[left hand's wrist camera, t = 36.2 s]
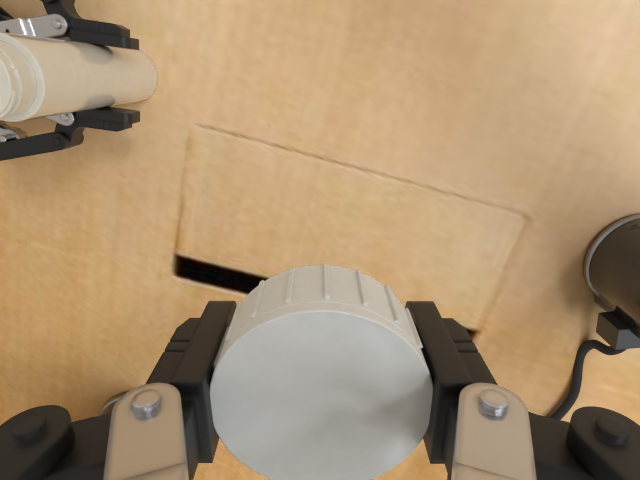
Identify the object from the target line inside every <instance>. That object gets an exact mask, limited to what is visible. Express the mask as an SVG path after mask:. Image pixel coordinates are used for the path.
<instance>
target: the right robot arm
mask: <svg viewBox="0 0 640 480" xmlns="http://www.w3.org/2000/svg"><path fill="white" fill-rule="evenodd" d="M41 1H43V4H44V6H45V9H46V11H47V14H48V15H45V16H39V17H34V18H19V19H14V18H13V17H12V16H11V15H9V14H8V13H7V12H6V11H5V10H4V9H2V8H1V7H0V32H6V33H14V34H22V35H30V36H38V37H46V38H54V39H62V40H69V39H70V40H71V41H78V42H85V43H91V44H98V45H104V46H111V47H118V48H125V49H133V50H139V40H138V39H133V38H130V30H129V29H127V28H125V27H123V26H121V25H116V24H111V23H104V22H98V21H91V20H85V19H82V18H81V17H80V16H79V15H78V14H77V12H76V10H75V7H74V3H75V0H41ZM45 118H47V119H50V120H52V121H54V122H57V125H56V128H55V132H52V133H46V134H41V135H35V136H29V137H27V133H26V132H24V131H23V130H21V129H20V128H12V127H10V126H8V125H7V124H6V123H5V122H4V121H2V120H0V161H2V160H7V159H13V158H19V157H24V156H30V155H36V154H41V153H47V152H53V151H58V150H63V149H66V148H69V147H73V146H76V145H79V144H81V143H82V142H83V140H84V137H83V134H82V133H83V130H84V128H85V127H88V128H95V129H103V130H110V131H121V130H124V129H128V128H131V127H132V124H133V123H136V122H140V111H135V110H128V109H121V108H114V107H103V108H97V109H91V110H85V111H79V112H73V113H67V114H61V115H55V116H49V117H45ZM124 394H126V393H123V394H120V395H117V396H115V397H113V398H112V399H110V400H109V401H108V402H107V403H106V404H105V406H104V407H103V409H102V410H101V412H100V413H99V416H101V415H105V414H108V413H111V412H112V410H113V407H114V405H115V404H116V402H117V401H118V400H119V399H120V398H121V397H122V396H123V395H124Z"/></svg>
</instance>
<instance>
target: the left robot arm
mask: <svg viewBox="0 0 640 480" xmlns="http://www.w3.org/2000/svg"><path fill="white" fill-rule="evenodd" d="M583 273H584V278H585V281H586V283H587V285H588V286H589V288H590V289H591V290H592V291H593V292H594V293H595V302H596V303H597V304H598V305H599V306H601V307H602V308H603V309H604V310H605V311H607V312H602V313H599V314H598V321H597V328H596V332H597V333H598V334H599V335H600V336H601V337H602V338H603V339H604V340H605V341H606V342H607V343H608V344H609V345H611V346H607V345H605V344H603V343H601V342H599V341H597V340H589V341H587V342H585V343H583V344H582V345H581V347H580V348H579V350H578V352H577V356H576V360H575V364H574V369H573V380H572V386H571V389H570V392H569V394H568V396H567V398H566V399H565V401H564V402H563V403H562V405H561V406H560V407H559V408H558V409H557V410H556V412H555V413H554V414H553V415H552V416H551V417H549V418H548V417H543V416H540V415H536V414H533V413H531V412H528V410H527V407H526V405H525V404H524V402H523V401H522V400H521V399H520V398H519V397H518V396H517V395H516V394H514V393H513V392H511V391H510V390H508V389H506V388H504V387H501V386H498V385H497V383H496V381H495V380H494V378H493V376H492V374H491V373H490V371H489V369H488V367H487V366H486V364H485V362H484V360H483V358H482V357H481V355H480V353H478V350H477V348H476V346H475V344H474V343H472V339H471V337H470V336H469V334H468V332H467V330H466V329H465V328H464V327H463V326H461V325H460V324H459V323H458V322H456V321H455V320H454V319H452V318H441V316H440V314H439V312H438V310H437V308H436V306H435V304H434V302H433V301H407V303H406V306H405V308H408V309H409V312H410V314H411V317H412V319H413V322H414V325H415V327H416V330H417V333H418V335H419V338H420V341H421V343H422V346H423V348H421V351H422V353H423V356H424V359H425V362H426V364H427V367H428V370H429V372H430V376H431V379H432V382H433V395H432V403H431V412H430V420H429V427H428V429H427V432H426V433H425V435H424V437H423V439H424V443H425V446H426V450H427V453H428V457H429V460H430V464H445V466H446V469H447V472H448V476H447V480H640V426H639V425H638V424H637V423H635V422H634V421H632V420H631V419H629V418H627V417H625V416H624V415H622V414H619V413H617V412H615V411H612V410H609V409H605V408H601V407H582V408H579V409H577V410H576V411H575V412H574V413H573V414H572V417H571V421H570V423H569V422H565V421H561V419H562V418H563V417H564V416H565V414H566V413H567V412H568V411H569V410H570V408H571V407H572V406H573V404H574V403H575V401H576V399H577V397H578V394H579V392H580V387H581V381H582V369H583V362H584V358H585V356H586V354H587V352H589V351H590V350H591V349H593V348H595V349H597V350H598V351H600V352H602V353H604V354H606V355H615V354H619V353H622V352H623V351H625V350H626V349H630V348H640V214H635V215H631V216H628V217H625V218H622V219H620V220H618V221H616V222H614V223H613V224H611V225H610V226H608V227H607V228H605V229H604V230H603V231H602V232H601V233H600V234H599V235H598V236H597V237H596V238H595V240H594V241H593V242H592V244H591V245H590V247H589V249H588V251H587V253H586V256H585V259H584V265H583ZM236 307H237V305H236V302H235V301H209V302H208V304H207V306H206V308H205V310H204V312H203V314H202V316H201V318H189V319H188V320H187V321H185V322H184V323H183V324H182V325H180V326H179V327H178V328H177V329H176V331H175V333H174V334H173V336H172V338H171V340H170V342H169V343H168V345H167V347H166V349H165V352H163V354H162V356H161V357H160V359H159V361H158V363H157V365H156V366H155V368H154V370H153V372H152V373H151V375H150V377H149V379H148V381H147V382H146V384H145V385H142V386H139V387H136V388H134V389H132V390H130V391H129V392H127V393H126V394H124V395H123V396H122V397H121V398H120V399H119V400H118V401H117V402H116V404H115V405H114V407H113V410H112V412H111V413H108V414H105V415H101V416H97V417H92V418H88V419H84V420H79V421H75V422H72V421H71V418H70V414H69V412H68V411H67V410H66V409H65V408H63V407H60V406H55V405H46V406H40V407H35V408H32V409H29V410H26V411H24V412H21V413H19V414H17V415H15V416H14V417H12V418H10V419H9V420H7V421H6V422H5V423H3V424H2V425H1V426H0V480H193V478H194V475H195V471H196V468H197V465H198V463H212V462H213V459H214V455H215V451H216V448H217V444H218V441H219V436H218V434H217V432H216V430H215V428H214V424H213V416H212V408H211V400H210V382H211V379H212V376H213V372H214V370H215V369H214V362H215V359H216V357H217V354H218V351H219V348H220V346H221V343H222V340H223V337H224V335H225V332H226V329H227V326H229V327H230V324H231V321H232V318H233V315H234V313H235V310H236Z"/></svg>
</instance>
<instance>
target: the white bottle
mask: <svg viewBox="0 0 640 480" xmlns="http://www.w3.org/2000/svg"><path fill="white" fill-rule="evenodd" d="M157 82H158V76H157V71H156V68H155V66H154V64H153V62H152V61H151V60H150V58H149V57H148V56H147V55H145V54H144V53H143V52H141V51H139V50H133V49H125V48H118V47H111V46H104V45H98V44H91V43H85V42H78V41H70V40H62V39H54V38H46V37H38V36H30V35H22V34H14V33H6V32H0V120H2V121H7V122H18V121H25V120H31V119H37V118H43V117H49V116H55V115H61V114H67V113H73V112H79V111H85V110H91V109H97V108H103V107H109V106H115V105H121V104H128V103H134V102H140V101H144V100H146V99H148V98H149V97H150V96H151V95H152V94H153V93H154V91H155V90H156V87H157Z"/></svg>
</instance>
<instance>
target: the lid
mask: <svg viewBox="0 0 640 480" xmlns="http://www.w3.org/2000/svg"><path fill="white" fill-rule="evenodd" d="M421 348H423V346H422V343H421V341H420V338H419V335H418V333H417V330H416V327H415V325H414V322H413V319H412V317H411V314H410V312H409V309H408V308H404V307H403V305H402V304H401V302H400V301H399V300H398V298H397V297H396V296H395V295H394V294H393V293H392V292H391V290H390V287H389V286H386V287H385V286H384V285H383V284H381V283H380V282H378V281H376V280H375V279H373V278H372V277H370V276H367V275H365V274H363V273H362V271H360V270H358V271H355V270H352V269H348V268H344V267H338V266H330V265H328V264H324V265H313V266H304V267H299V268H294V267H292V268H290V270H288V271H284V272H282V273H279V274H277V275H275V276H273V277H271V278H269V279H268V280H266V281H264V280H262V281H261V282H260V283H259V286H257V287H256V288H255V289H254V290H252V291H251V292H250V293H249V294H248V296H247V297H246V298H245V299H244V300H243V301H242V302H241V301H239V302H238V304H237V307H236V310H235V313H234V315H233V318H232V321H231V324H230V327H229V326H227V329H226V332H225V335H224V337H223V340H222V343H221V346H220V348H219V351H218V354H217V357H216V359H215V362H214V369H215V370H214V372H213V376H212V379H211V382H210V400H211V408H212V416H213V424H214V428H215V430H216V432H217V434H218V436H219V438H220V439H221V441H222V442H223V444H224V445H225V446H226V448H227V449H228V450H229V451H230V452H231V453H232V454H233V455H234V456H235V457H236V458H237V459H238V460H239V461H240V462H242V463H243V464H244V465H245V466H247V467H248V468H250V469H252V470H253V471H255V472H257V473H258V474H260V475H263V476H265V477H267V478H269V479H272V480H371V479H373V478H376V477H378V476H380V475H382V474H384V473H386V472H387V471H389V470H391V469H392V468H394V467H396V466H397V465H398V464H399V463H401V462H402V461H403V460H405V459H406V458H407V457H408V456H409V455H410V454H411V453H412V452H413V451H414V450H415V448H416V447H417V446H418V444H419V443H420V442H421V440H422V439H423V437H424V435H425V433H426V432H427V429H428V427H429V420H430V412H431V403H432V395H433V382H432V379H431V376H430V372H429V370H428V367H427V364H426V362H425V359H424V356H423V353H422V351H421Z"/></svg>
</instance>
